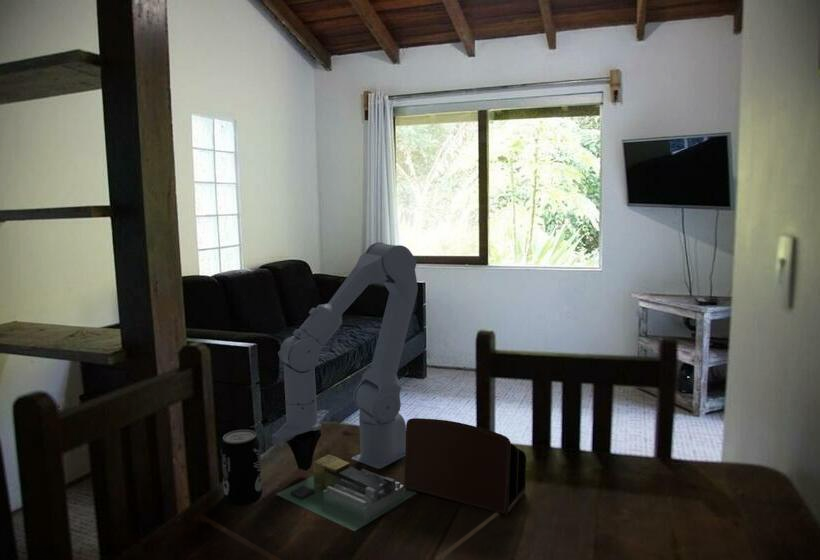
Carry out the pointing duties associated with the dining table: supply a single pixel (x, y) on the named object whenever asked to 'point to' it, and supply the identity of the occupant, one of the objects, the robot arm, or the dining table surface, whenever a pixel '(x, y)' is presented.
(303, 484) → the board
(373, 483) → the strap
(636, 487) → the dining table surface
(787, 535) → the dining table surface
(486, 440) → the letter holder
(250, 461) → the beverage can
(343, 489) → the block
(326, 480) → the keeper
